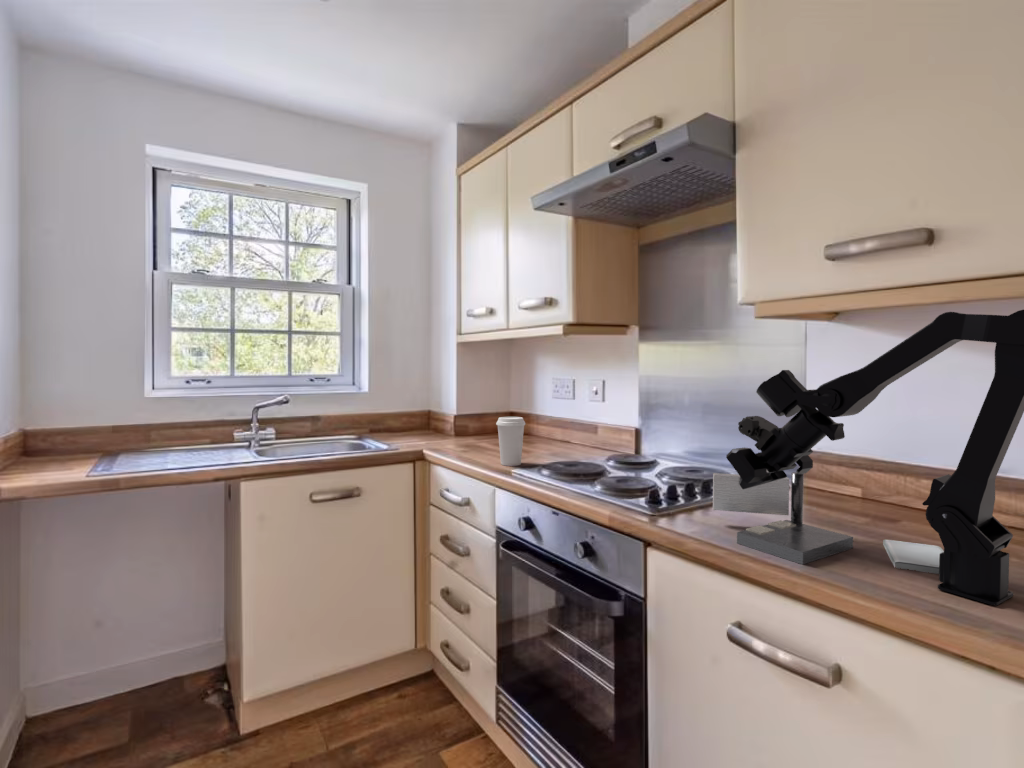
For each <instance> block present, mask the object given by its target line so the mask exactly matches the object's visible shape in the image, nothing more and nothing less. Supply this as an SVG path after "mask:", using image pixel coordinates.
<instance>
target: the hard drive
mask: <svg viewBox="0 0 1024 768" xmlns="http://www.w3.org/2000/svg"><path fill="white" fill-rule="evenodd" d="M882 541H883V542H882V545H883V547H884V549H885V552H886V553H887V555H888V557H889V559H890V561H891V564H892V566H893V567H894V568H895V567H896V568H895V569H900V568H901V570H907V569H909V571H914V570H916V571H915V572H921V573H928V572H929V574H934V575H935V574H936V575H939V557H940V553H942V552H944V548H942V547H941V546H939V545H933V544H925V543H916V542H910V541H900V540H893V539H883V540H882Z"/></svg>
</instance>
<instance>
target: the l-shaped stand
mask: <svg viewBox="0 0 1024 768" xmlns="http://www.w3.org/2000/svg"><path fill="white" fill-rule="evenodd" d="M790 480H791V483H790V485H791V486H790V495H791V496H790V520H789V519H785V520H783V519H781V520H776V521H772V522H769V523H767V524H765V525H757V526H751V527H748V528H745V529H743V530H740V531H737V532H736V544H738V545H742V546H744V547H748V548H751V549H754V550H757V551H759V552H763V553H766V554H769V555H772V556H776V557H779V558H781V559H784V560H787V561H790V562H794V563H797V564H799V565H802V566H803V565H805V564H809V563H812V562H815V561H818V560H821V559H825V558H827V557H829V556H833V555H836V554H839V553H843V552H845V551H846V552H847V551H849V550H852V549H853V548H854V545H853V544H854V536H852V535H848V534H845V533H844V534H843V533H840V532H835V531H832V530H828V529H825V528H821V527H817V526H813V525H809V524H806V523H803V521H804V519H803V516H804V514H803V513H804V509H803V507H804V474H797V472H796V471H795V472H791V479H790Z"/></svg>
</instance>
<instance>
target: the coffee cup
mask: <svg viewBox="0 0 1024 768" xmlns="http://www.w3.org/2000/svg"><path fill="white" fill-rule="evenodd" d="M495 425H496V426H497V432H498V433H497V435H498V445H499V446H498V448H499V457H500V465H501V466H506V467H507V466H509V467H516V466H521V465H522V454H523V442H524V432H525V426H526V425H527V424H526V421H525V420H524V417H521V416H500V417H498V419H497V421H496V423H495Z"/></svg>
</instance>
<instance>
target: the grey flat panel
mask: <svg viewBox="0 0 1024 768" xmlns="http://www.w3.org/2000/svg"><path fill="white" fill-rule="evenodd" d="M741 481H742V478H741V477H740V475H739V474H738V473H737V474H734V473H718V472H717V473H716V472H714V473H712V510H713V511H720V512H722V511H723V512H734V513H735V512H736V513H746V514H747V513H749V514H750V513H751V514H761V515H762V514H764V515H775V516H777V515H779V516H789V515H790V514H789V513H790V512H789V510H790V478H789V477H788V476H787V477H786V478H783V479H779V480H775V481H772V482H768V483H765V484H761V485H758V486H754V487H751V488H747V489H742V488H741V486H740V483H741Z"/></svg>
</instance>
